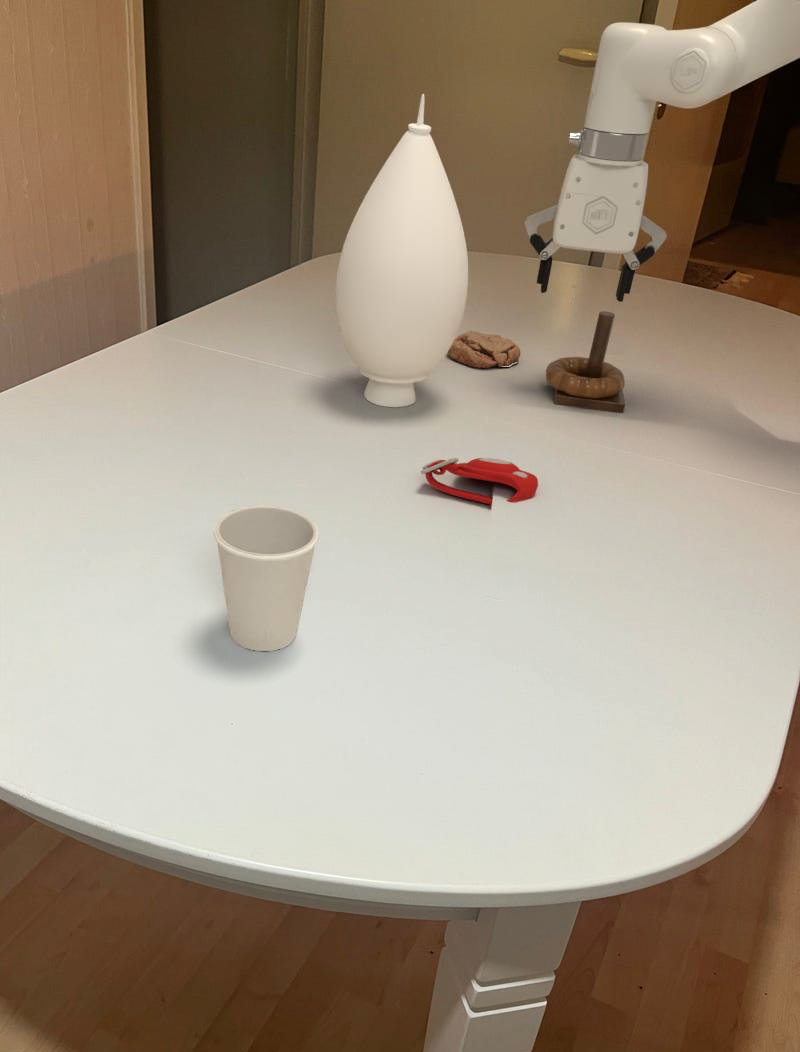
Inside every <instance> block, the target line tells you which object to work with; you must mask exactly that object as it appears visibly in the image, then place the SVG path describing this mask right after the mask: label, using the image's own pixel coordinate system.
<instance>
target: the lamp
mask: <svg viewBox="0 0 800 1052" xmlns="http://www.w3.org/2000/svg"><path fill="white" fill-rule="evenodd" d="M425 98H426V97H425V93H422V94H421V96H420V101H419V107H418V113H417V119H416V123H409V124H408V125H407V129H408V130H407V131H406V132H405V133H404V134H403V135H402V136H401V138H400V139H399V141H398V143H397V144H396V146H395V147H394V149H393V150H392V152H391V153H390V155H389V156H388V158H387V159H386V160H385V162H384V164H383V166H382V167H381V168H380V170H379V172H378V174H377V175H376V178H375V179H374V180H373V182H372V183H371V185H370V187H369V189H368V190H367V192H366V194H365V195H364V198H363V199H362V202H361V203H360V205H359V207H358V210H357V212H356V214H355V216H354V217H353V221H352V222H351V224H350V227H349V229H348V232H347V234H346V236H345V240H344V242H343V246H342V249H341V253H340V257H339V263H338V266H337V267H338V268H337V271H336V272H337V274H336V283H335V309H336V315H337V316H336V317H337V322H338V326H339V331H340V335H341V338H342V341H343V344H344V346H345V348H346V352H347V353H348V355H349V357H350V360H352V362H353V363H354V365H356V367H357V368H356V369H357V370H358V372H359V373H360V374H361V375H362V376H364V377H366V378H368V381H367V384H366V387H365V389H364V391H363V396H364V399H365V400H366V401H368V402H369V403H370V404H373V405H376V406H380V407H383V408H384V407H385V408H403V407H408V406H411V405H413V404H415V402H416V401H417V400H416V399H417V398H416V391H415V384H414V383H418V382H421V381H424V380H425V379H427V377H428V375H429V373H432V372H433V371H434V370H435V369H436V368H437V367H438V366H439V365H440V363H441V362H442V361H443V360H444V358H445V357H446V355H447V354H448V350H449V349H450V347H451V345H452V343H453V341H454V339H456V338H457V336H458V333H459V330H460V327H461V324H462V321H463V318H464V314H465V309H466V305H467V297H468V288H469V287H468V286H469V258H468V257H469V256H468V249H467V241H466V236H465V231H464V226H463V223H462V219H461V218H462V217H461V215H460V212H459V211H460V210H459V208H458V205H457V201H456V199H455V195H454V191H453V189H452V186H451V183H450V180H449V178H448V175H447V173H446V170H445V167H444V165H443V161H442V159H441V157H440V154H439V152H438V149H437V146H436V143H435V141H434V139H433V137H432V135H431V132H432V127H431V126H430V125H428V124H424V123H425V122H424V119H425Z"/></svg>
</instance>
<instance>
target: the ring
mask: <svg viewBox="0 0 800 1052" xmlns="http://www.w3.org/2000/svg"><path fill="white" fill-rule="evenodd" d="M588 360H589V357H582V356H567V357H560V358H558V359H556V360H553V361H552V362H550V363H548V365H547V366H546V369H545V379H546V382H547V384H548V385H550V386H551V387H552V388H554V390H555V389H557V390H558V391H560V392H563V393H566V394H569V395H572V396H575V397H582V398H590V399H597V398H608V397H612V396H613V395H615V394H617V393H619V392H620V391H622V389H623V390H624V388H625V384H626V381H625V376H624V373H623V371H622V370H621V369H619V368H618V367H616V366H615V365H613V364H611V363H608V362H605V361H604V363H603V367H602V371H601V375H600V378H588V377H585V373H586V368H587V364H588Z"/></svg>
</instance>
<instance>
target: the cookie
mask: <svg viewBox="0 0 800 1052" xmlns="http://www.w3.org/2000/svg"><path fill="white" fill-rule="evenodd" d="M447 354H448V356H449V357H450V356H451V359H452V358H453V359H455V360H454V361H456V360H457V361H460V362H462V363H461V364H463V363H464V364H463V365H466V364H468V365H467V366H469V365H470V366H469V367H471V366H473V367H472V368H479V369H481V368H483V369H487V368H486V367H489V368H492V367H494V366H495V367H498V366H499V367H502V366H509V365H511V364H512V363H515V362H518V363H519V359H520V357H521V354H522V353H521V349H520V347H519V346H518V344H517V343H515V342H513V341H512V340H511V339H509V338H504V337H503V336H501V335H500V334H493V333H484V332H480V331H473V330H469V331H466V332H463V333H461V334H459V335H457V336H456V337H455V339H454V341H453V343H452V345H451V347H450V349H449V350H448V352H447ZM453 359H452V360H453ZM457 361H456V362H457ZM460 362H459V363H460ZM495 367H494V368H495ZM499 367H498V368H499Z"/></svg>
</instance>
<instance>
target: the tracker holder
mask: <svg viewBox="0 0 800 1052" xmlns="http://www.w3.org/2000/svg"><path fill="white" fill-rule="evenodd" d="M458 462H459V458H458V457H454V458H449V459H447V460H446V459H437V460H434V461H431V462H429V463H426V464H424V465H423V466H422V467H421V470H420V474H421V475H425V479H426V481H427V483H428V484H429V485H431V486H432V487H433V488H435V489H437V490H439V491H441V492H444V493H446V494H448V495H452V496H454V497H459V498H463V499H467V500H471V501H475V502H479V503H484V504H488V505H493V500H494V498H493V496H489V495H485V494H482V493H477V492H473V491H470V490H469V491H468V490H464V489H460V488H457V487H456V488H455V487H452V486H449V485H446V484H445V483H442V482H440V481H438V480H437V479H436V478H435V477H434V475H436V476H443V475H444V474H446V472H448V473H450V474H453V475H455V476H460V477H464V478H469V479H474V480H475V479H476V480H481V481H487V482H494V483H500V484H503V485H508V486H509V487H512V488H513V489H515V490H516V493H515V494H514V495H513V496H511V498H508V499H507V500H506V502H508V503H517V502H521V501H526V500H531V499H533V497H534V496H535V494H536V492H537V490H538V487H539V479H538V477H537V476H536V475H535V474H533V473H531V472H528V471H525V470H522V469H520V468H519V466H517V465H516V464H515V463H512V462H509V461H507V460H503V459H499V458H492V457H490V458H489V457H487V458H482V457H479V458H474V459H471V460H469V461H468V462H460V463H458ZM433 474H434V475H433Z"/></svg>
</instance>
